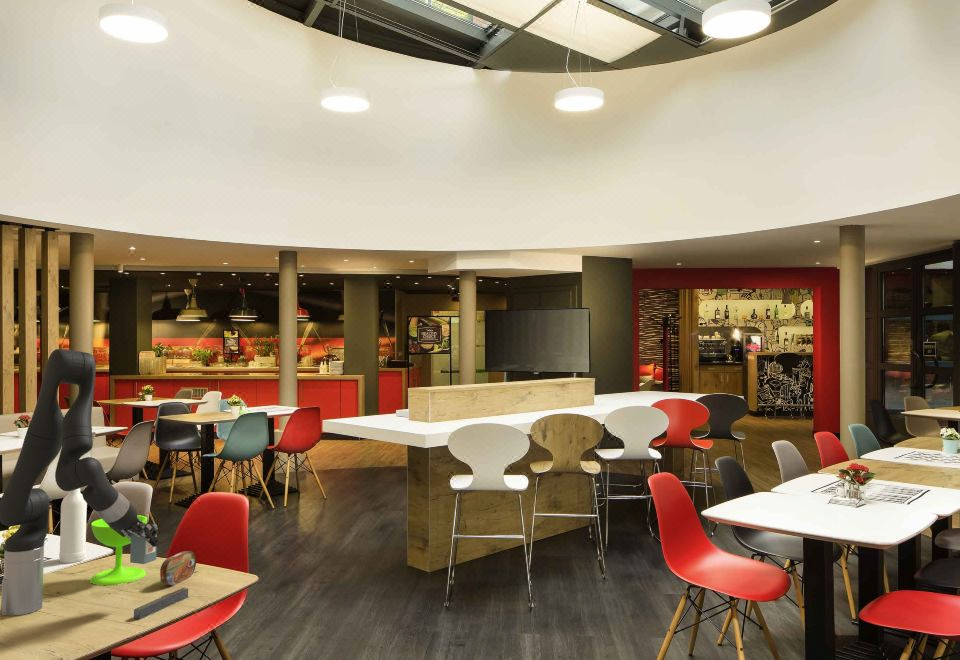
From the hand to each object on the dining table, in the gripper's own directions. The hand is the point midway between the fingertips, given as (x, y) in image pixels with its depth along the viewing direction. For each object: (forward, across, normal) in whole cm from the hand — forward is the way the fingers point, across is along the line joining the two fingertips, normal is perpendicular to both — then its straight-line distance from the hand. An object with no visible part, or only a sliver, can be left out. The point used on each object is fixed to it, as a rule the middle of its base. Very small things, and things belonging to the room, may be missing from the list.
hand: (148, 542), depth 196 cm
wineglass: (+22, +26, +2) cm, 34 cm away
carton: (+2, 0, +5) cm, 5 cm away
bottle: (+29, +56, -5) cm, 64 cm away
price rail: (+11, -7, +13) cm, 18 cm away
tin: (+25, +6, -1) cm, 26 cm away
